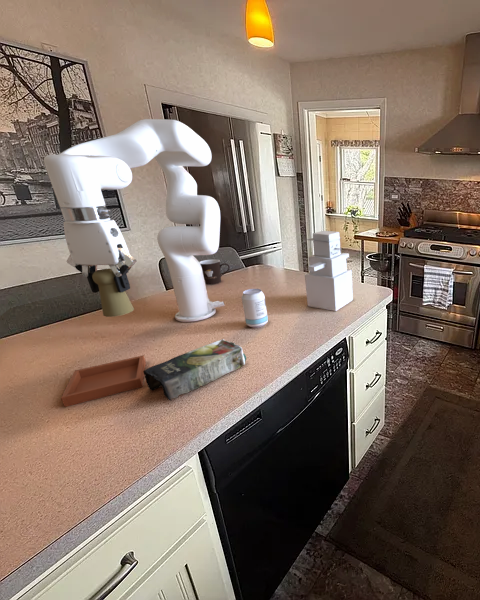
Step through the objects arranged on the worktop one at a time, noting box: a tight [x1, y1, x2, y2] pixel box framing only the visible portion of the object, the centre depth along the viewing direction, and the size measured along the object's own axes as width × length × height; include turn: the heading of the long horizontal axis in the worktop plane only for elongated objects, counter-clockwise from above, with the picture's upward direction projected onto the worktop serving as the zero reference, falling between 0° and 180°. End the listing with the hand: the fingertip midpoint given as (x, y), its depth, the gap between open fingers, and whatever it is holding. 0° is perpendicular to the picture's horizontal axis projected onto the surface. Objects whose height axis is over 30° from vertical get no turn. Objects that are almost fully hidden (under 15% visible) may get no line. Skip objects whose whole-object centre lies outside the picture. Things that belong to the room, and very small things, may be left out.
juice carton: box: [143, 338, 247, 401], centre depth 81 cm, size 20×10×6 cm, turn 149°
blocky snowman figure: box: [304, 230, 354, 312], centre depth 125 cm, size 13×24×28 cm, turn 158°
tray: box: [60, 354, 147, 408], centre depth 79 cm, size 14×13×2 cm
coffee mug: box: [199, 259, 231, 285], centre depth 151 cm, size 12×9×10 cm
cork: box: [92, 268, 135, 318], centre depth 80 cm, size 6×6×11 cm
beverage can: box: [241, 288, 269, 329], centre depth 108 cm, size 7×7×12 cm
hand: (111, 290), depth 79 cm, fingers closed on cork, 5 cm apart
